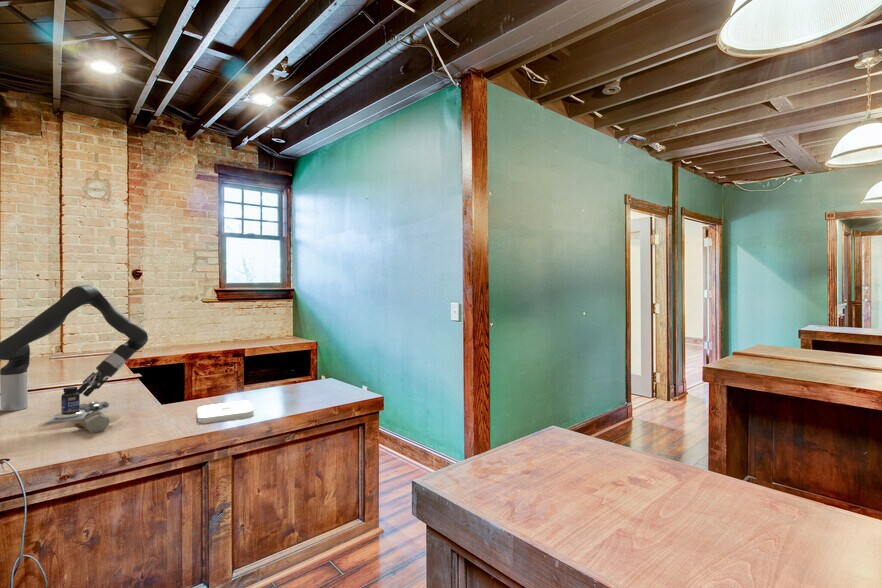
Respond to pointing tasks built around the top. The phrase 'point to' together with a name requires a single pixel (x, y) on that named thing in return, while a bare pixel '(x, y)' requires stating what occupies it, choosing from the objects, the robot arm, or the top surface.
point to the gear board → (74, 417)
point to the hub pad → (69, 415)
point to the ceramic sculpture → (94, 422)
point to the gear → (93, 406)
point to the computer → (224, 411)
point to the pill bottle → (70, 401)
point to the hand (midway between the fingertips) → (81, 394)
